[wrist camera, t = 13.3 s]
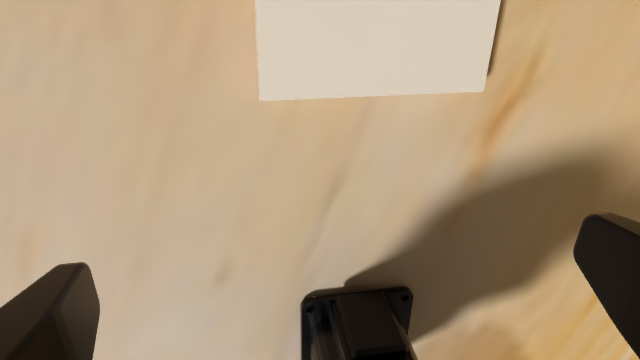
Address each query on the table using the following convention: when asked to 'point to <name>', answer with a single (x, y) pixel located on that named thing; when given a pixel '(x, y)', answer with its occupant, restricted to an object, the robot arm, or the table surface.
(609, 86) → the table surface
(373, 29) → the stone coaster
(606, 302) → the robot arm
